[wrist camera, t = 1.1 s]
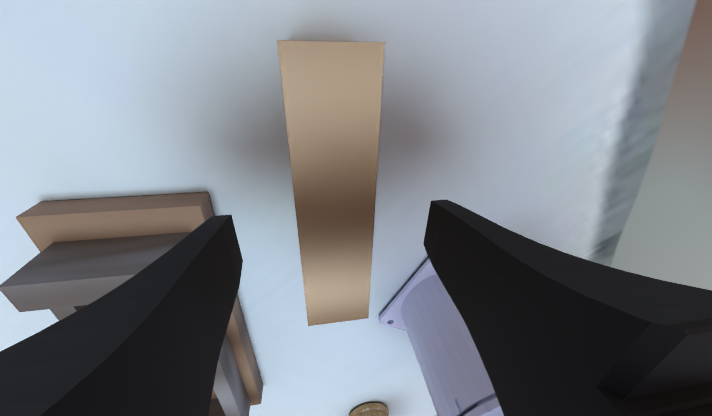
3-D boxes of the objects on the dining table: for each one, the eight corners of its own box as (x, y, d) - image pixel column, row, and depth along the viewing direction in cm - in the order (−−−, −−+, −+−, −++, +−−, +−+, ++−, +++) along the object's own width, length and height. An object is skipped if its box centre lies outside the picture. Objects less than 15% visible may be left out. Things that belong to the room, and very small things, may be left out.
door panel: (287, 40, 13) (277, 40, 8) (352, 41, 13) (384, 42, 8) (307, 261, 19) (309, 339, 14) (350, 257, 20) (367, 332, 15)
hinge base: (41, 201, 14) (-54, 260, 10) (208, 192, 15) (177, 241, 12) (168, 400, 24) (143, 467, 21) (263, 385, 26) (256, 445, 22)
